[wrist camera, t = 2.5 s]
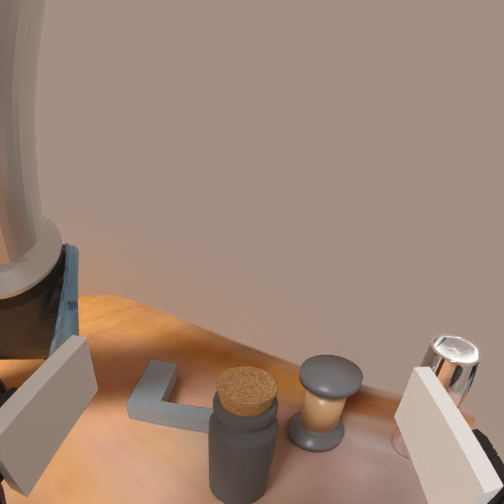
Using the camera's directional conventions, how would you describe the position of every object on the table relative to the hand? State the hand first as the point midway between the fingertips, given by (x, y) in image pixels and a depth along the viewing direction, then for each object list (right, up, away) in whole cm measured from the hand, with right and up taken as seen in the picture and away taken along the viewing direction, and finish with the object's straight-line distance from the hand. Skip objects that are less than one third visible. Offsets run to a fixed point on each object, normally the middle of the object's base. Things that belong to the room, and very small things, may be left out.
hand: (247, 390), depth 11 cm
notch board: (-7, -15, +28) cm, 33 cm away
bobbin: (+8, -17, +24) cm, 31 cm away
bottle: (-1, -19, +16) cm, 25 cm away
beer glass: (+21, -20, +21) cm, 35 cm away
